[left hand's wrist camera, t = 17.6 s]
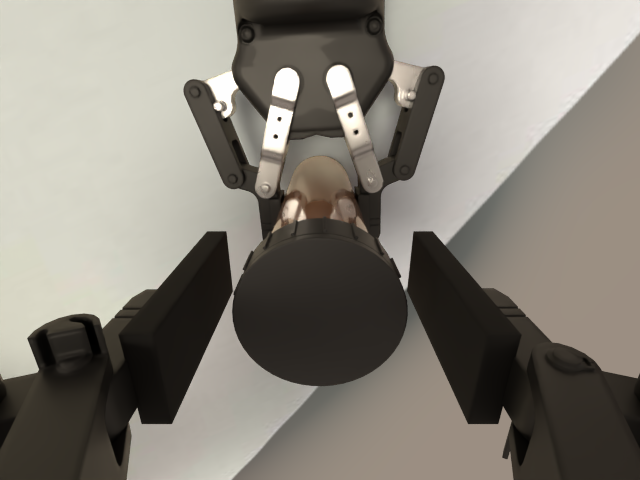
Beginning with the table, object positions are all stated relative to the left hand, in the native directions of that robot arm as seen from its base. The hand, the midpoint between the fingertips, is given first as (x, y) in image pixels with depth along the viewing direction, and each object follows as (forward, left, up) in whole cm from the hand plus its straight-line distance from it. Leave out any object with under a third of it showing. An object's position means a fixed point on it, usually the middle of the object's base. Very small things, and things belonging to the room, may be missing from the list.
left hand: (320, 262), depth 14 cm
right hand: (-2, -2, -8) cm, 8 cm away
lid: (0, 0, +4) cm, 4 cm away
